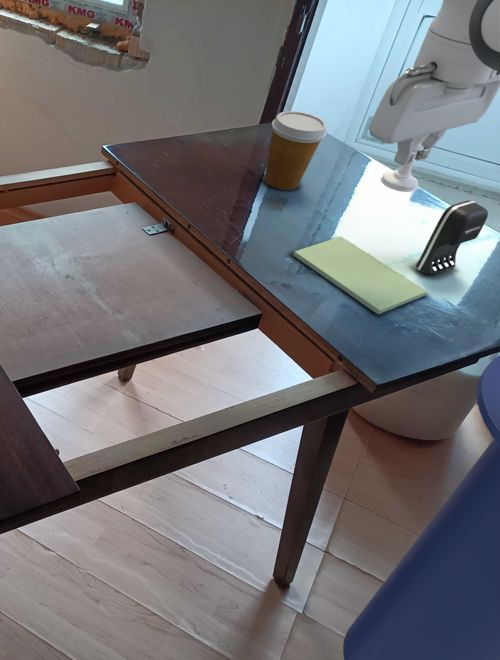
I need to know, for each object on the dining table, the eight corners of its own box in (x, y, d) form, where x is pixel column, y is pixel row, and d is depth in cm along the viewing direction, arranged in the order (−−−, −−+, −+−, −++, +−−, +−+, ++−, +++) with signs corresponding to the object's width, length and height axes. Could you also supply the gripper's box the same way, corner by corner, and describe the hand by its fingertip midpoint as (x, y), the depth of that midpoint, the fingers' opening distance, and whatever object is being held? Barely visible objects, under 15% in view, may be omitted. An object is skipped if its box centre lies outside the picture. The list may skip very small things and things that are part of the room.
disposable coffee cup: (284, 167, 135) (304, 107, 127) (317, 190, 128) (340, 128, 120) (245, 174, 131) (263, 113, 124) (277, 197, 125) (298, 135, 117)
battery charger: (432, 281, 108) (467, 217, 100) (412, 268, 110) (445, 205, 102) (460, 271, 110) (497, 208, 103) (440, 258, 113) (474, 196, 105)
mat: (425, 295, 105) (427, 291, 104) (377, 314, 100) (380, 310, 100) (339, 240, 115) (340, 236, 115) (292, 255, 111) (294, 251, 110)
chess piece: (417, 195, 96) (450, 126, 89) (380, 187, 97) (410, 118, 90) (416, 180, 99) (447, 112, 93) (380, 172, 100) (409, 105, 94)
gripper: (425, 77, 80) (378, 184, 89) (525, 57, 89) (473, 157, 98) (381, 60, 84) (341, 164, 93) (481, 42, 92) (435, 139, 102)
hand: (409, 160), depth 96 cm, fingers closed on chess piece
